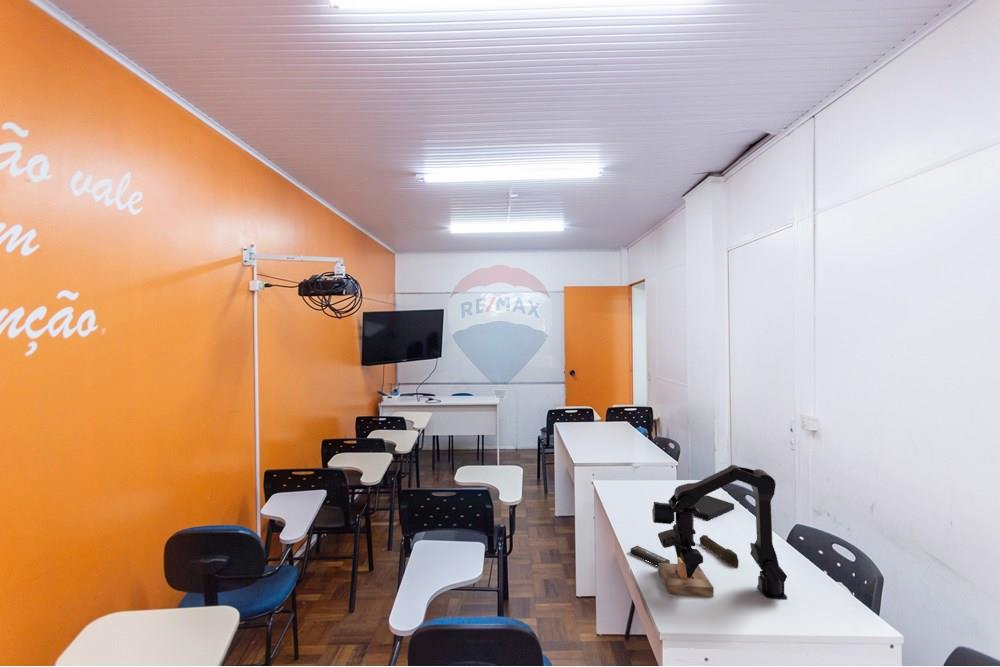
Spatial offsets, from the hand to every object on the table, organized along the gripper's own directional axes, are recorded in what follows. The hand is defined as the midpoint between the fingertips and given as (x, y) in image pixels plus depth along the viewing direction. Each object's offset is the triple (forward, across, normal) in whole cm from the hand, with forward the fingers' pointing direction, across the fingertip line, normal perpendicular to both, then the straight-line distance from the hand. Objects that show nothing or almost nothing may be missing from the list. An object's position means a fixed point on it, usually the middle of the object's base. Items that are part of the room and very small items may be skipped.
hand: (684, 570), depth 151 cm
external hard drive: (+5, -66, +31) cm, 73 cm away
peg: (+4, 0, 0) cm, 4 cm away
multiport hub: (+5, -15, -8) cm, 18 cm away
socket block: (+4, 0, 0) cm, 4 cm away
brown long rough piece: (+5, -21, +20) cm, 30 cm away
